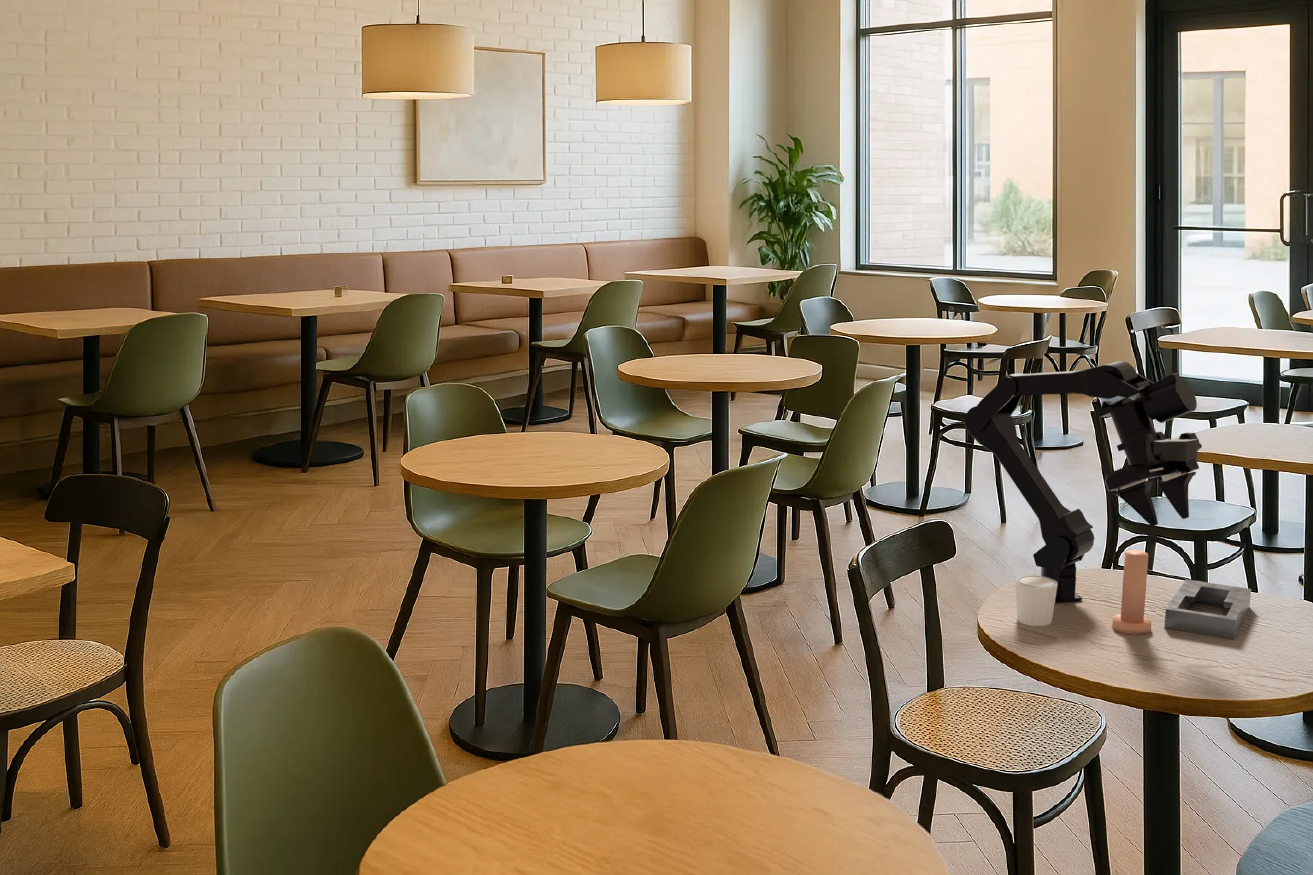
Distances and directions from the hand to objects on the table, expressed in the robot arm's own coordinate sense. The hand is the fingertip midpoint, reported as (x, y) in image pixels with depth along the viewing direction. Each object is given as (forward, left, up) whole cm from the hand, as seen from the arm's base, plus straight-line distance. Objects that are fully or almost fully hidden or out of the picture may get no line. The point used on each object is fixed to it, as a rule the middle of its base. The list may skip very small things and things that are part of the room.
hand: (1170, 521), depth 202 cm
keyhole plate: (-2, +10, -18) cm, 21 cm away
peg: (0, -6, -18) cm, 19 cm away
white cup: (-8, -19, -18) cm, 28 cm away
